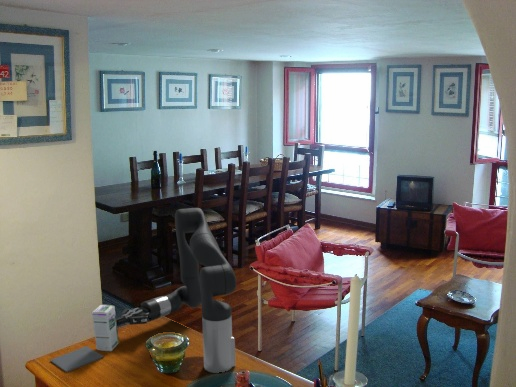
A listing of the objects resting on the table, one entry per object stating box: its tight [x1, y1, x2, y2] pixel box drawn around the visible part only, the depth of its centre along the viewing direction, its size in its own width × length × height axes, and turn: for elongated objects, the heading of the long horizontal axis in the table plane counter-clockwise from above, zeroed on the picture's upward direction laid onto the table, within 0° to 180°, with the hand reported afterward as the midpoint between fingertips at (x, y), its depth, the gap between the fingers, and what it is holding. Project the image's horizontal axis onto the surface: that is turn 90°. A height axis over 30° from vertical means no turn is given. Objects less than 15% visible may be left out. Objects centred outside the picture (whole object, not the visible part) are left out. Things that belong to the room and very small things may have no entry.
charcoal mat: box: [50, 345, 104, 373], centre depth 175 cm, size 13×11×1 cm
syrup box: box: [91, 304, 120, 352], centre depth 182 cm, size 6×6×14 cm
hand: (114, 323), depth 184 cm, fingers closed
